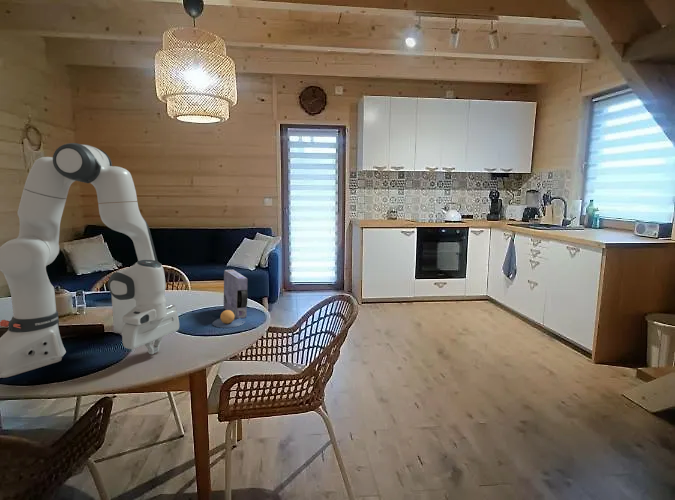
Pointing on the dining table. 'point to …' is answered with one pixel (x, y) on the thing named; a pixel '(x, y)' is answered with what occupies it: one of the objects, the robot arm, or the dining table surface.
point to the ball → (227, 316)
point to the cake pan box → (235, 293)
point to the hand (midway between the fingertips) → (153, 352)
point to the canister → (121, 311)
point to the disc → (233, 324)
